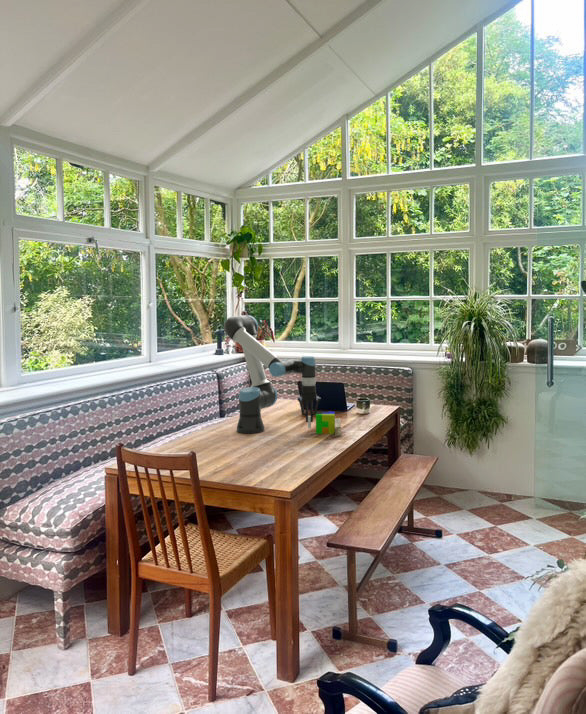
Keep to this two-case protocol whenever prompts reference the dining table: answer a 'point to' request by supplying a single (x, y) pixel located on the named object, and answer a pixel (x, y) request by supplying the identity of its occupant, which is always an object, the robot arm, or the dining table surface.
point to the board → (337, 427)
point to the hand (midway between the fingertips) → (309, 427)
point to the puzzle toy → (325, 422)
